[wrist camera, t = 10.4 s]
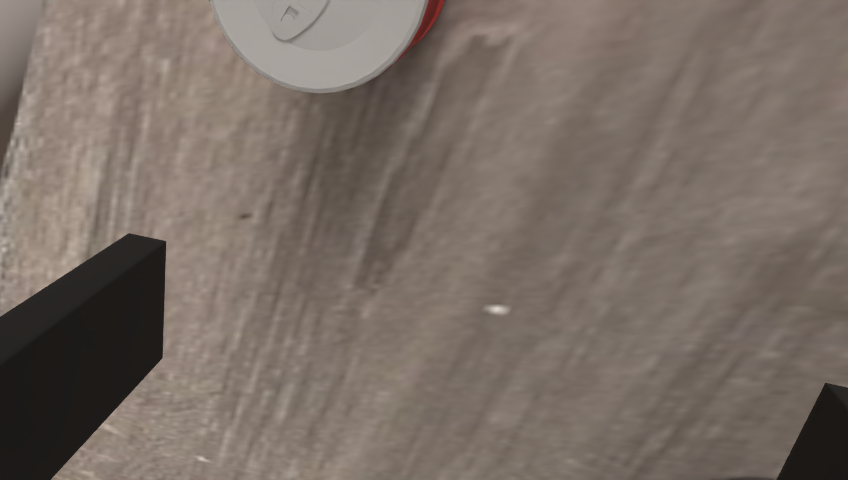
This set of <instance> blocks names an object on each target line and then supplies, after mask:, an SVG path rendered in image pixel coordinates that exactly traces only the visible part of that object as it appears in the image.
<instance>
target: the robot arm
mask: <svg viewBox="0 0 848 480" xmlns="http://www.w3.org/2000/svg"><path fill="white" fill-rule="evenodd" d="M165 261H166V241H162V240H158V239H153V238H148V237H144V236H139V235H134V234H130V233H129V234H127V235H126V236H124V237H123V238H121V239H119V240H118V241H116V242H115V243H113V244H112V245H110V246H109V247H107V248H106V249H104V250H103V251H101V252H99V253H98V254H96V255H95V256H93V257H92V258H90V259H89V260H87V261H86V262H84V263H82V264H81V265H79V266H78V267H76V268H75V269H73V270H72V271H70V272H69V273H67V274H66V275H64V276H62V277H61V278H59V279H58V280H56V281H55V282H53V283H52V284H50V285H49V286H47V287H45V288H44V289H42V290H41V291H39V292H38V293H36V294H35V295H33V296H32V297H30V298H29V299H27V300H25V301H24V302H22V303H21V304H19V305H18V306H16V307H15V308H13V309H12V310H10V311H8V312H7V313H5V314H4V315H2V316H1V317H0V480H51V479H52V477H53V476H54V475H55V474H56V473H57V472H58V471H59V470H60V469H61V468H62V467H63V466H64V464H65V463H66V462H67V461H68V460H69V459H70V458H71V457H72V456H73V455H74V454H75V452H76V451H77V450H78V449H79V448H80V447H81V446H82V445H83V444H84V443H85V442H86V441H87V439H88V438H89V437H90V436H91V435H92V434H93V433H94V432H95V431H96V430H97V429H98V427H99V426H100V425H101V424H102V423H103V422H104V421H105V420H106V419H107V418H108V417H109V416H110V414H111V413H112V412H113V411H114V410H115V409H116V408H117V407H118V406H119V405H120V404H121V402H122V401H123V400H124V399H125V398H126V397H127V396H128V395H129V394H130V393H131V392H132V391H133V389H134V388H135V387H136V386H137V385H138V384H139V383H140V382H141V381H142V380H143V379H144V377H145V376H146V375H147V374H148V373H149V372H150V371H151V370H152V369H153V368H154V367H155V366H156V364H157V363H158V362H159V361H160V360H161V359H162V356H163V325H164V293H165ZM777 480H848V388H847V387H842V386H837V385H833V384H828V383H825V385H824V387H823V389H822V391H821V393H820V395H819V397H818V399H817V401H816V403H815V405H814V407H813V409H812V411H811V413H810V415H809V417H808V419H807V421H806V422H805V424H804V426H803V428H802V430H801V432H800V434H799V436H798V438H797V440H796V442H795V444H794V446H793V448H792V450H791V452H790V454H789V456H788V458H787V460H786V462H785V464H784V466H783V468H782V470H781V472H780V474H779V476H778V478H777Z"/></svg>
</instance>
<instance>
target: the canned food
mask: <svg viewBox="0 0 848 480" xmlns="http://www.w3.org/2000/svg"><path fill="white" fill-rule="evenodd" d="M209 1H210V4H211V7H212V10H213V13H214V16H215V19H216V22H217V23H218V25H219V27H220V29H221V31H222V33H223V34H224V36H225V38H226V40H227V42H228V43H229V44H230V45H231V47H232V48H233V49H234V50H235V52H236V53H237V54H238V55H239V57H240V58H241V59H242V60H243V61H244V62H245V63H247V64H248V65H249V66H250V67H251V68H252V69H254V70H255V71H256V72H257V73H258V74H260V75H262V76H263V77H265V78H267V79H269V80H270V81H272V82H274V83H275V84H278V85H281V86H284V87H286V88H289V89H292V90H295V91H301V92H309V93H329V92H338V91H343V90H346V89H350V88H353V87H356V86H360V85H362V84H364V83H366V82H368V81H370V80H371V79H373V78H375V77H377V76H379V75H380V74H381V73H383V72H384V71H386V70H387V69H388V68H389V67H390V66H392V65H393V64H394V63H395V62H397V61H398V60H399V59H400V58H401V57H402V56H403V55H404V54H406V53H407V52H408V51H409V50H410V49H411V48H412V47H413V46H414V45H415V44H416V43H417V42H418V41H419V40H420V39H421V38H422V37H423V36H424V35H425V34H426V33H427V31H428V30H429V29H430V28H431V27H432V25H433V24H434V22H435V20H436V19H437V17H438V15H439V13H440V11H441V9H442V6H443V3H444V0H209Z"/></svg>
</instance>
